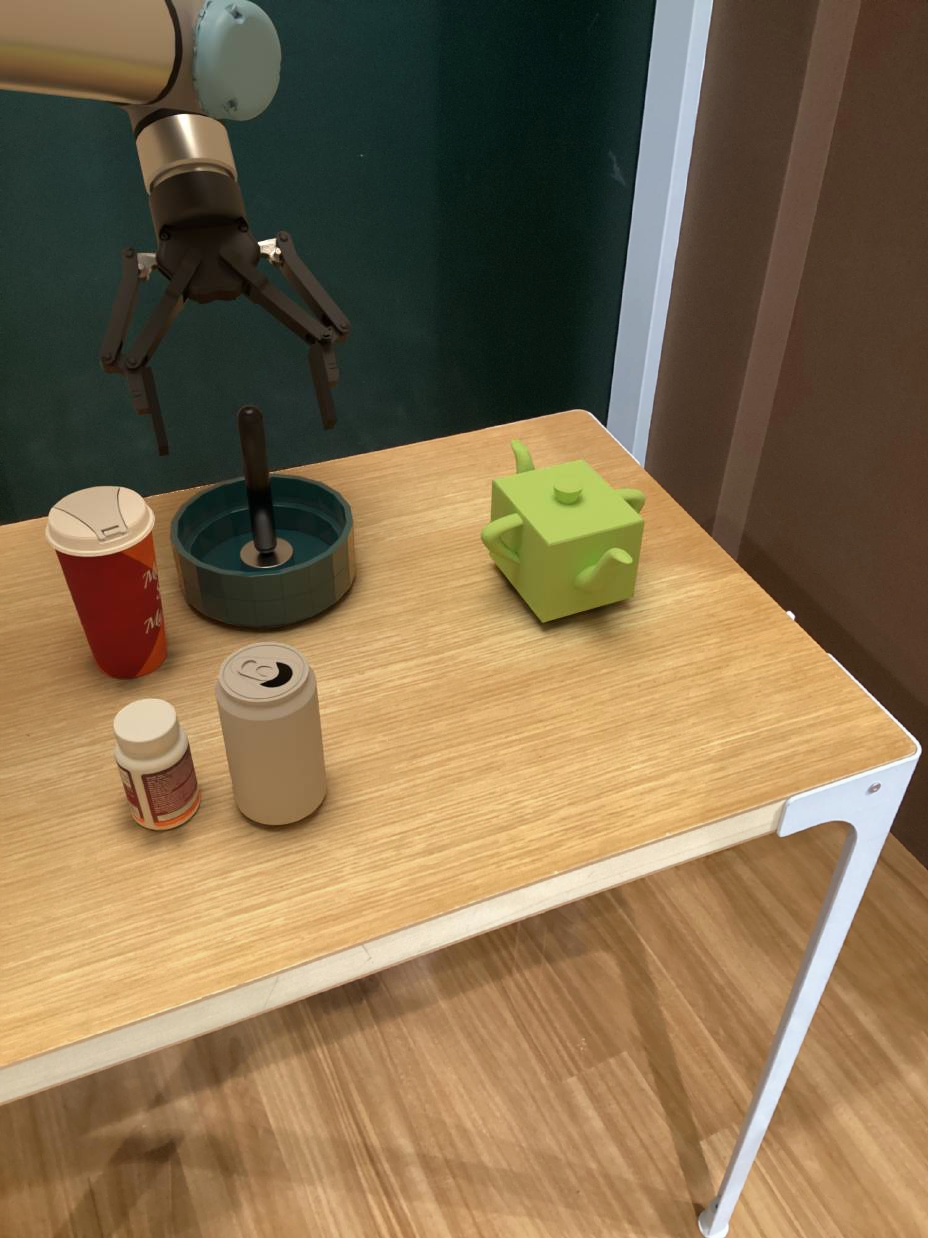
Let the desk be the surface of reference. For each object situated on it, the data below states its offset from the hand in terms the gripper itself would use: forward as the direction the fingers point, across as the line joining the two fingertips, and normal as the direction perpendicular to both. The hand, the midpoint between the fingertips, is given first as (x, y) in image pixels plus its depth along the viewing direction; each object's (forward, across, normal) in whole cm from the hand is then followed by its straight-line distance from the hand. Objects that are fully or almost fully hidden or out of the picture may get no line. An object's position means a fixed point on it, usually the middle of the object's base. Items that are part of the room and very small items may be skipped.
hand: (249, 438), depth 87 cm
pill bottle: (+27, +12, +8) cm, 31 cm away
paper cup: (+15, +12, -4) cm, 20 cm away
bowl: (+10, 0, -8) cm, 13 cm away
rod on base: (+10, 0, -8) cm, 13 cm away
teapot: (+17, -24, -2) cm, 29 cm away
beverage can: (+28, +4, +9) cm, 30 cm away
